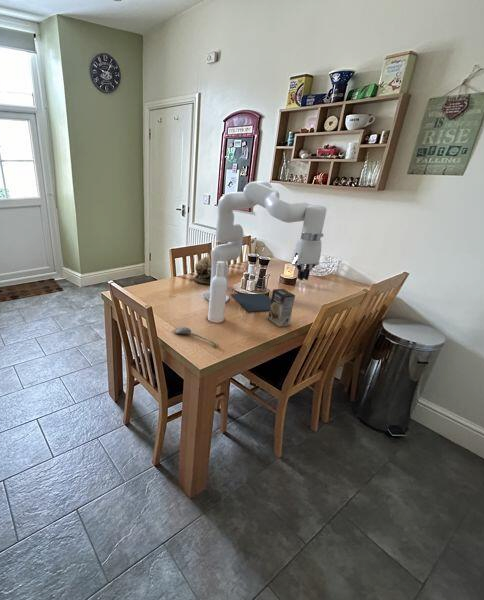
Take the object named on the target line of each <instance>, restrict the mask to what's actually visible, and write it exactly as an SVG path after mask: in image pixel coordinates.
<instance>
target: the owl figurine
mask: <svg viewBox="0 0 484 600" xmlns="http://www.w3.org/2000/svg"><path fill="white" fill-rule="evenodd" d="M211 268H212V261H211V260H210V258H209V257H208V256H207V255H206V256H204V257H203V258H200V259H199V260H198V261H197V263H196V264H195V268H194V269H195V273H196V274H197V275H195V276H194V277H193V281H194V282H195V283H198V284H200V285H204V286H210V282H211Z"/></svg>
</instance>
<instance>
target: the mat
mask: <svg viewBox="0 0 484 600" xmlns="http://www.w3.org/2000/svg"><path fill="white" fill-rule="evenodd" d="M248 293H249V292H244V293H232V294H230V296H231V297H232V298H233V299H234V300H235V301H236V302H237V303H238V304H240V306H241V307H243V309H245V310H246V312H247V313H256V312H259V313H260V312H269V311H270V305H271V299H272V298H270V297H269V296H268V295H266V294H265V293H264V294H248Z"/></svg>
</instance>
